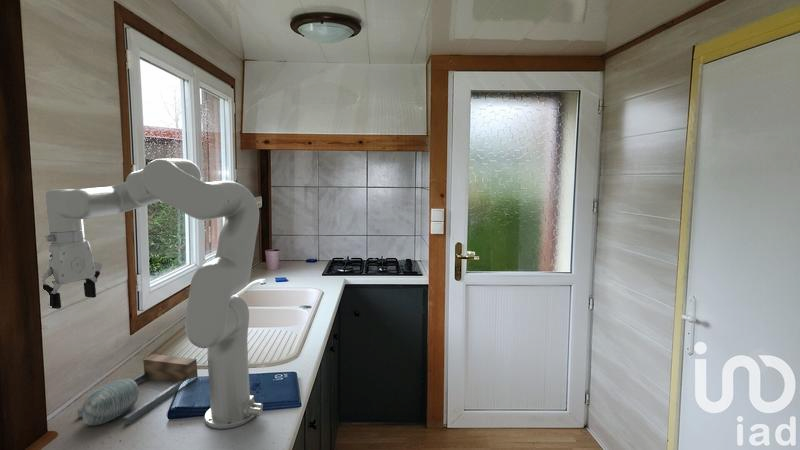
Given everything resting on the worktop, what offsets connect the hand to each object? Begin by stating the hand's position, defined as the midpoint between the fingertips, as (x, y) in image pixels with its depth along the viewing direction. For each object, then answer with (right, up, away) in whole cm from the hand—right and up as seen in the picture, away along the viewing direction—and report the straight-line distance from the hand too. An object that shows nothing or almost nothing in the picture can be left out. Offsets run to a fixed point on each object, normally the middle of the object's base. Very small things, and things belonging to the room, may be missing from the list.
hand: (73, 302), depth 119 cm
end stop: (+16, -26, +19) cm, 36 cm away
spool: (+11, -29, -1) cm, 31 cm away
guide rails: (+13, -28, +7) cm, 31 cm away
